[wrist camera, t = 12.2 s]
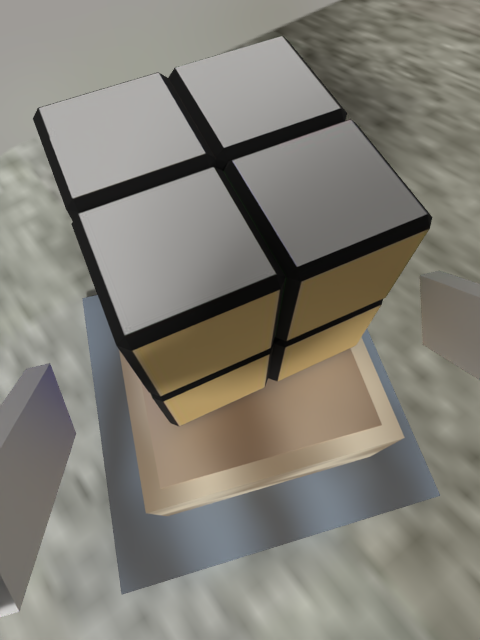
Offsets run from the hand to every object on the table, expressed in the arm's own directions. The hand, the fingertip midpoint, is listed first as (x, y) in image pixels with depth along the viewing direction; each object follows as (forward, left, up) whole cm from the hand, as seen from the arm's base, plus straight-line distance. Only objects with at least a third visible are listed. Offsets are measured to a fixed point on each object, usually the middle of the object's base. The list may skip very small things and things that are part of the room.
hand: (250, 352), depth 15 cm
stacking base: (0, -2, -13) cm, 13 cm away
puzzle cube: (0, -5, -6) cm, 8 cm away
